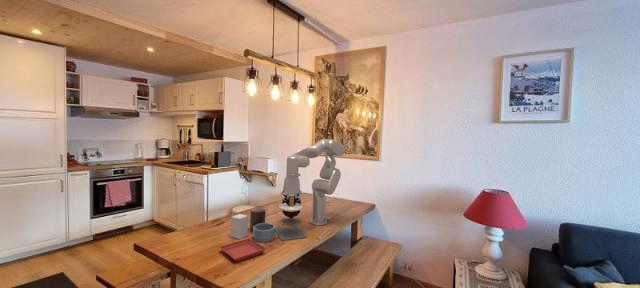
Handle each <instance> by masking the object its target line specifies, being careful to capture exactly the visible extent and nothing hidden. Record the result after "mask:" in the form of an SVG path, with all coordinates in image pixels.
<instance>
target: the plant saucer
mask: <svg viewBox="0 0 640 288" xmlns="http://www.w3.org/2000/svg"><path fill="white" fill-rule="evenodd" d="M219 249H220V250H221V251H222V252H223V253H225V254H226V255H227V256H228V257H229V258H231V259H232V260H233V261H235V262H236V263H237V262H241V261H244V260H246V259H250V258H253V257H256V256H258V255H261V254H262V253H263V252H264V251H265V250H266V247H264V246H263V245H262V244H260V243H259V242H257V241H255V240H254V239H251V238H245V239H242V240H238V241H234V242H231V243H229V244H224V245H221V246H219Z"/></svg>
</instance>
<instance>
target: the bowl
mask: <svg viewBox="0 0 640 288" xmlns="http://www.w3.org/2000/svg"><path fill="white" fill-rule="evenodd" d="M276 228H277V227H276V225H275V224H274V223H270V222H265V223H260V224H257V225H255V226H253V232H252V236H253V241H255V242H257V243H268V242H272V241H273V240H274V239H275V237H276V235H277V233H276Z"/></svg>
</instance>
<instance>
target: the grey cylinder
mask: <svg viewBox="0 0 640 288" xmlns="http://www.w3.org/2000/svg"><path fill="white" fill-rule="evenodd" d="M249 220H250V221H249V232H251V233H253V226H255V225H257V224H260V223H266V209H265V208H264V207H255V208H250V218H249Z"/></svg>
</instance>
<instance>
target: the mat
mask: <svg viewBox="0 0 640 288" xmlns="http://www.w3.org/2000/svg"><path fill="white" fill-rule="evenodd" d="M276 235H277V236H278V239H280V242H283V241H284V242H285V241H286V242H287V241H293V240H301V239H308V237H307V236H306V234H305V233H304V232H303V230H302V229H301V228H300V227H299V226H298V225H291V226H284V227H282V226H281V227H276Z"/></svg>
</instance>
